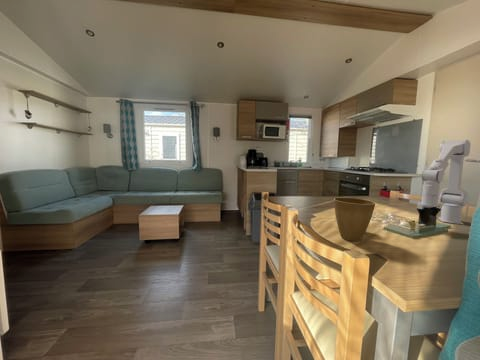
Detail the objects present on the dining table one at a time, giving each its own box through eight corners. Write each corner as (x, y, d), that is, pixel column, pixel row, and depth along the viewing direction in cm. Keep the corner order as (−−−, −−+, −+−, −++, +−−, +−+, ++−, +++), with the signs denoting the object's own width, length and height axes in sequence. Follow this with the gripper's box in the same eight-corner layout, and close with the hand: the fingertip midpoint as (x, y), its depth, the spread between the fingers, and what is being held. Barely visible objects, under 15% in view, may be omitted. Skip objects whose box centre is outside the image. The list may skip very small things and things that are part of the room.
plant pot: (379, 247, 76) (382, 205, 74) (336, 243, 79) (339, 202, 77) (363, 233, 91) (366, 197, 89) (328, 230, 94) (330, 196, 92)
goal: (396, 226, 97) (397, 218, 97) (418, 233, 89) (419, 224, 88) (387, 228, 95) (388, 219, 94) (409, 235, 86) (410, 225, 86)
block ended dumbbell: (423, 223, 101) (424, 214, 101) (435, 227, 96) (436, 216, 96) (404, 226, 96) (405, 216, 96) (416, 230, 91) (418, 219, 91)
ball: (395, 226, 94) (401, 223, 95) (403, 233, 91) (408, 230, 93) (400, 220, 91) (406, 218, 93) (408, 228, 89) (414, 225, 90)
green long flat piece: (428, 222, 109) (429, 216, 108) (459, 229, 97) (459, 223, 97) (383, 229, 96) (384, 223, 96) (412, 238, 85) (413, 231, 85)
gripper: (429, 192, 103) (426, 218, 104) (410, 194, 98) (408, 221, 99) (447, 195, 96) (443, 222, 98) (428, 196, 91) (425, 225, 92)
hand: (427, 222), depth 98 cm, fingers closed on block ended dumbbell, 4 cm apart
